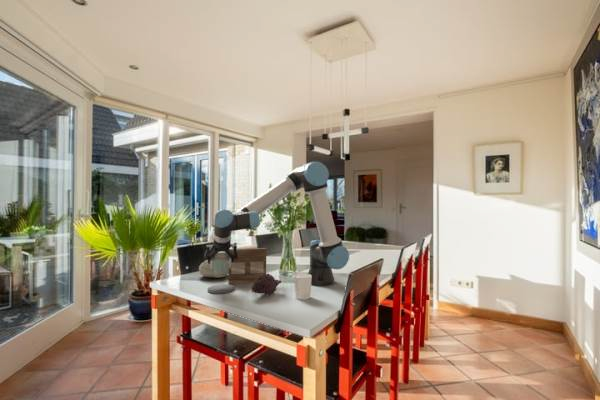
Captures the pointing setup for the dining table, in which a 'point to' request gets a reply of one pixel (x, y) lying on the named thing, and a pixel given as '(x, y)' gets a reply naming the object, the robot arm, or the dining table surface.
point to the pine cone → (265, 284)
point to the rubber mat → (221, 289)
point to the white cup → (303, 286)
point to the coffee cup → (220, 264)
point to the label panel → (247, 266)
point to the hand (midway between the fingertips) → (220, 265)
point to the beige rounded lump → (208, 269)
